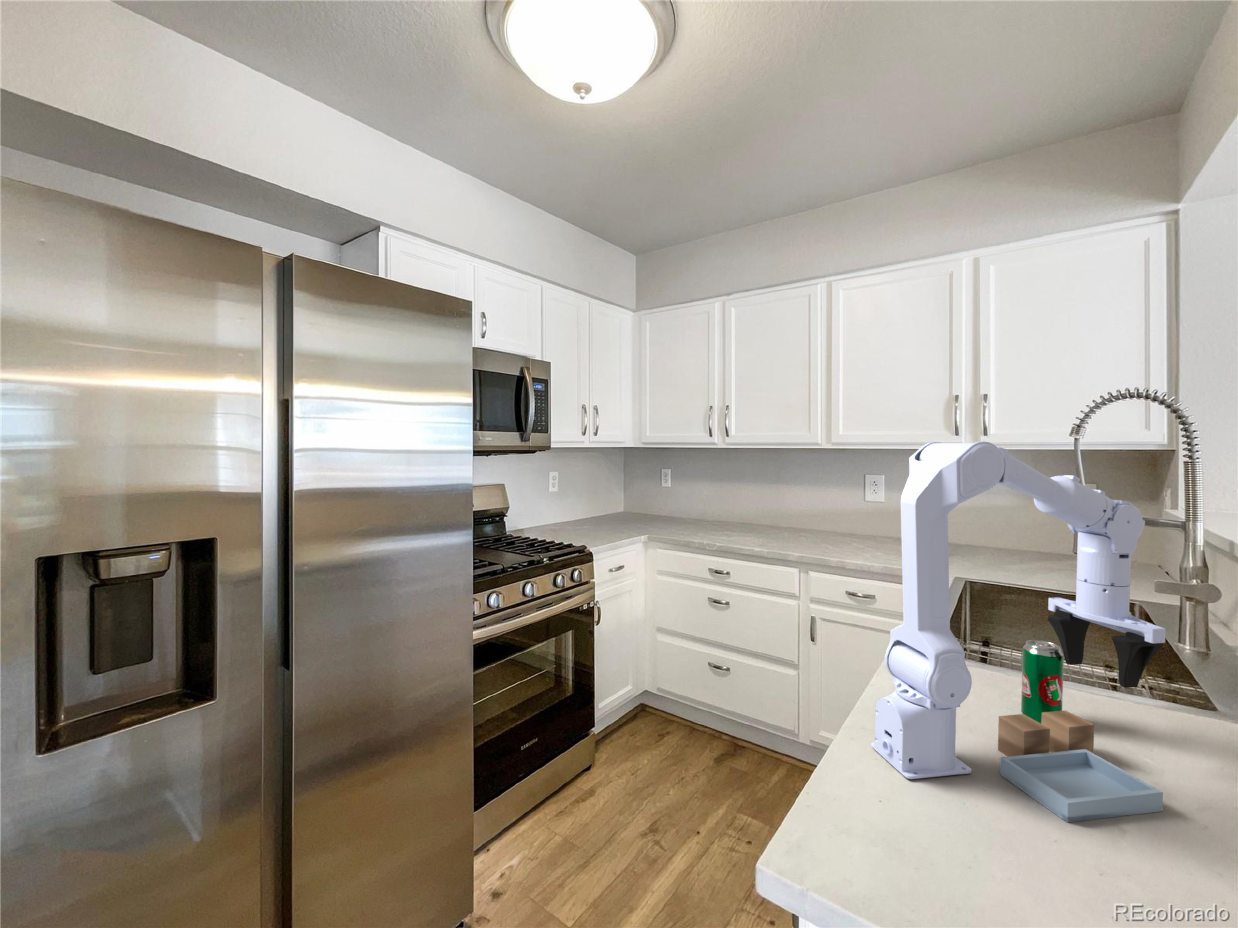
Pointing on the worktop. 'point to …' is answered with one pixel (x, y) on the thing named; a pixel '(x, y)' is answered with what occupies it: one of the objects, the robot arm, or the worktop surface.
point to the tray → (1080, 785)
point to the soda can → (1041, 678)
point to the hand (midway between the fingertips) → (1099, 674)
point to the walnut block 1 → (1022, 736)
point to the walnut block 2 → (1068, 731)
